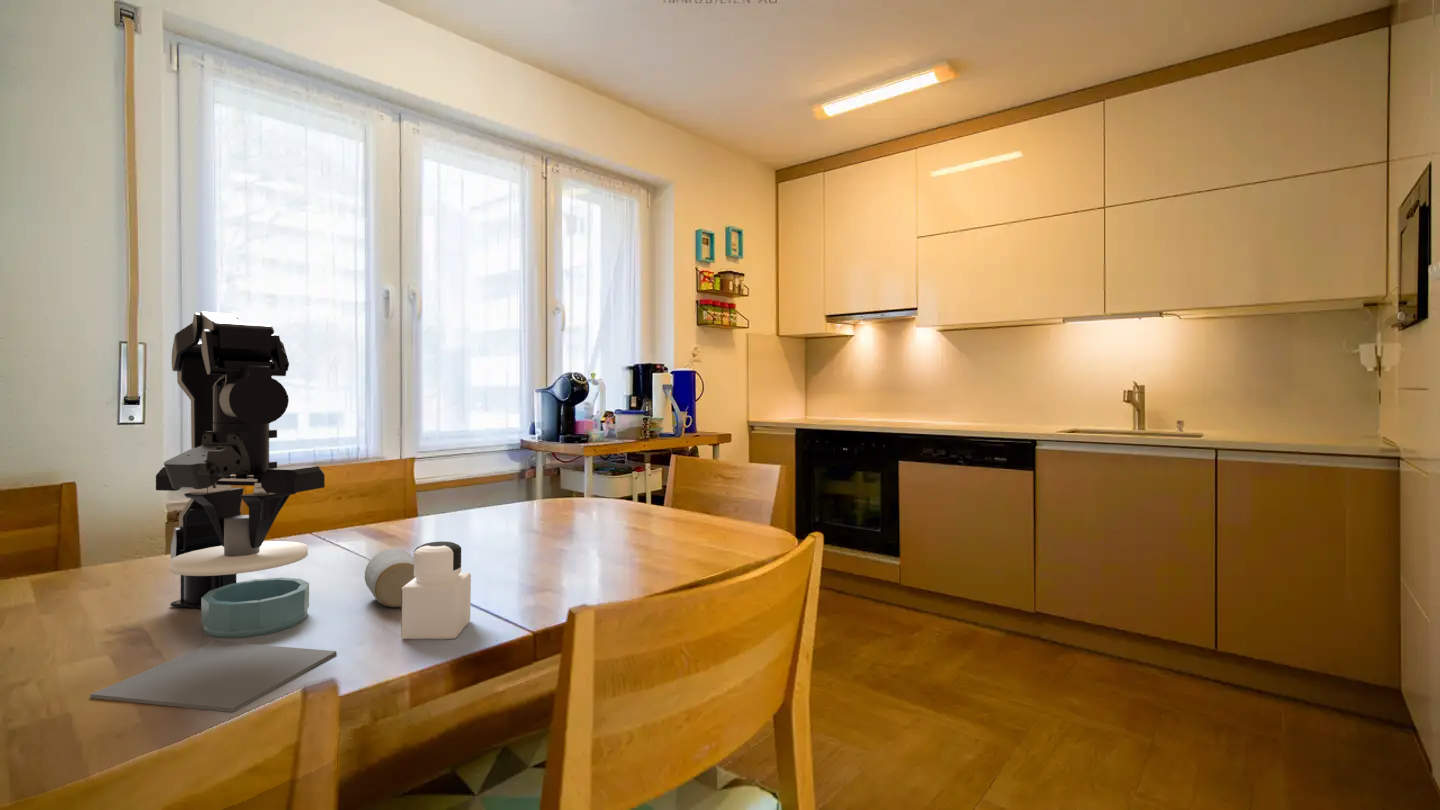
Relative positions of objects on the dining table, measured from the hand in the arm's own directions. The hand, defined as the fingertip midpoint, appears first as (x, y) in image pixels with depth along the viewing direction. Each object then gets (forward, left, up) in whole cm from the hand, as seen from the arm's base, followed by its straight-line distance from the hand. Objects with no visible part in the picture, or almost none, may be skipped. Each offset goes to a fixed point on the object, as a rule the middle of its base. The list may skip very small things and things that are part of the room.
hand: (241, 547), depth 83 cm
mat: (+4, -6, -13) cm, 15 cm away
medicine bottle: (+20, +11, -13) cm, 26 cm away
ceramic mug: (+8, +22, -13) cm, 27 cm away
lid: (0, 0, -2) cm, 2 cm away
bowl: (-6, +9, -13) cm, 17 cm away
